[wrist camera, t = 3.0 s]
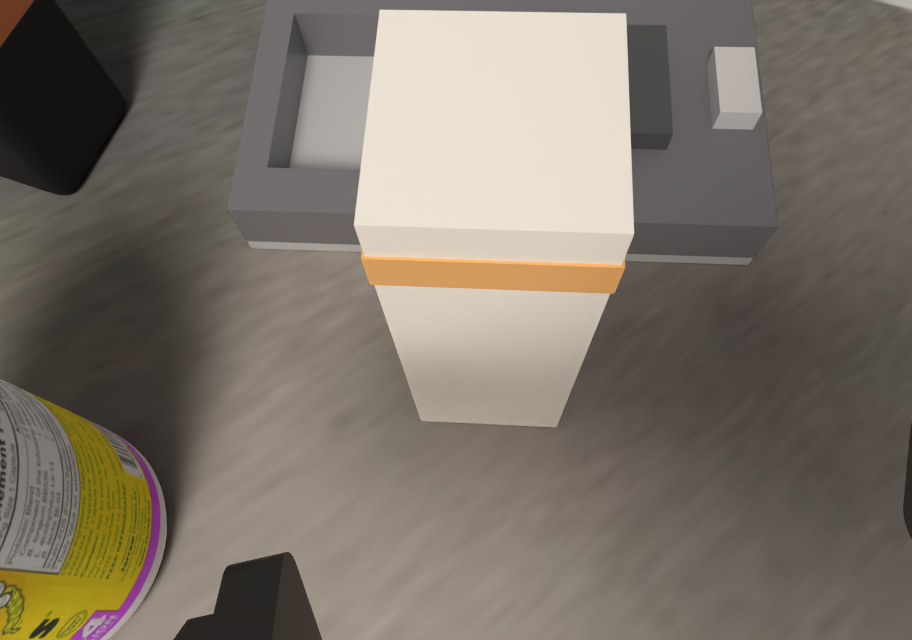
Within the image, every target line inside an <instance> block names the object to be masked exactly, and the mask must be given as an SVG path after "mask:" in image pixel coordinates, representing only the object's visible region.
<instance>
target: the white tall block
mask: <svg viewBox="0 0 912 640" xmlns="http://www.w3.org/2000/svg"><path fill="white" fill-rule="evenodd" d="M354 227H355V230H356V233H357V236H358V239H359V242H360V245H361V248H362V253H361V261H362V263H363V266H364V269H365V272H366V275H367V277H368V280H369V283H370V285H374V286H375V288H376V291H377V294H378V297H379V300H380V303H381V306H382V309H383V312H384V315H385V317H386V320H387V323H388V326H389V329H390V332H391V335H392V338H393V341H394V344H395V347H396V349H397V352H398V355H399V358H400V361H401V364H402V367H403V370H404V373H405V376H406V379H407V381H408V384H409V387H410V390H411V393H412V396H413V399H414V402H415V405H416V408H417V410H418V413H419V416H420V419H421V421H431V422H453V423H474V424H496V425H517V426H539V427H557V425H558V422H559V420H560V417H561V415H562V412H563V410H564V407H565V405H566V402H567V400H568V398H569V395H570V393H571V390H572V388H573V385H574V383H575V380H576V378H577V375H578V373H579V370H580V368H581V365H582V363H583V360H584V358H585V355H586V353H587V350H588V348H589V345H590V343H591V340H592V338H593V335H594V333H595V330H596V328H597V325H598V323H599V320H600V318H601V315H602V313H603V311H604V308H605V306H606V303H607V301H608V298H609V296H610V294H615V291H616V289H617V287H618V284H619V282H620V279H621V277H622V274H623V272H624V270H625V256H626V253H627V251H628V248H629V246H630V243H631V241H632V238H633V236H634V214H633V187H632V159H631V132H630V105H629V77H628V50H627V23H626V13H563V12H499V11H436V10H380V11H379V20H378V28H377V36H376V44H375V53H374V61H373V69H372V78H371V86H370V94H369V103H368V111H367V119H366V127H365V136H364V144H363V152H362V161H361V169H360V177H359V186H358V194H357V202H356V210H355V219H354Z"/></svg>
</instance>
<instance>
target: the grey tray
mask: <svg viewBox="0 0 912 640" xmlns="http://www.w3.org/2000/svg"><path fill="white" fill-rule="evenodd" d="M380 10H436V11H499V12H563V13H626V23H627V50H628V77H629V105H630V132H631V159H632V187H633V214H634V236H633V238H632V241H631V243H630V246H629V248H628V251H627V253H626V256H625V261H644V262H673V263H703V264H732V265H749V263H750V262H751V261H752V259H753V258H754V257H755V256H756V254H757V253H758V252H759V250H760V249H761V248H762V247H763V245H764V244H765V243H766V241H767V240H768V239H769V238H770V236H771V235H772V234H773V232H774V231H775V230H776V228H777V227H778V225H777V217H776V208H775V200H774V191H773V183H772V174H771V166H770V157H769V148H768V140H767V131H766V123H765V114H764V106H763V97H762V89H761V80H760V71H759V63H758V54H757V46H756V37H755V29H754V20H753V12H752V3H751V0H267V2H266V8H265V13H264V18H263V23H262V28H261V33H260V39H259V44H258V49H257V54H256V59H255V64H254V70H253V75H252V80H251V85H250V90H249V96H248V101H247V106H246V111H245V116H244V121H243V127H242V132H241V137H240V142H239V147H238V152H237V158H236V163H235V168H234V173H233V178H232V184H231V189H230V194H229V199H228V204H227V209H226V210H227V211H228V213H229V215H230V216H231V218H232V219H233V221H234V222H235V224H236V225H237V227H238V228H239V230H240V231H241V233H242V234H243V236H244V237H245V239H246V241H247V242H248V244H249V245H250V247H251V248H261V249H291V250H320V251H350V252H362V248H361V245H360V242H359V239H358V236H357V233H356V230H355V227H354V219H355V210H356V202H357V194H358V186H359V177H360V169H361V161H362V152H363V144H364V136H365V127H366V119H367V111H368V103H369V94H370V86H371V78H372V69H373V61H374V53H375V44H376V36H377V28H378V20H379V11H380Z"/></svg>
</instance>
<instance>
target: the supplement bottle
mask: <svg viewBox="0 0 912 640" xmlns="http://www.w3.org/2000/svg"><path fill="white" fill-rule="evenodd" d="M166 537H167V520H166V508H165V501H164V497H163V493H162V489H161V486H160V484H159V481H158V479H157V477H156V475H155V473H154V471H153V469H152V467H151V466H150V464H149V463H148V461H147V460H146V459H145V457H144V456H143V455H142V454H141V453H140V452H139V451H138V450H137V449H136V448H135V447H134V446H133V445H131V444H130V443H129V442H128V441H126V440H125V439H123V438H122V437H120V436H118V435H117V434H115V433H113V432H111V431H110V430H108V429H106V428H104V427H102V426H100V425H98V424H96V423H94V422H92V421H89V420H87V419H85V418H83V417H81V416H79V415H77V414H75V413H72V412H70V411H68V410H66V409H64V408H62V407H60V406H58V405H55V404H53V403H51V402H49V401H47V400H45V399H42V398H40V397H38V396H36V395H34V394H32V393H30V392H28V391H25V390H23V389H21V388H19V387H17V386H15V385H12V384H10V383H8V382H6V381H4V380H1V379H0V640H107V639H109V638H110V637H111V636H112V635H113V634H114V633H116V632H117V631H118V630H119V629H120V628H121V627H122V626H123V625H124V624H125V623H126V622H127V621H128V619H129V618H130V617H131V616H132V615H133V613H134V612H135V611H136V610H137V608H138V607H139V605H140V604H141V603H142V601H143V600H144V598H145V596H146V595H147V593H148V591H149V589H150V588H151V586H152V584H153V582H154V580H155V577H156V575H157V572H158V570H159V567H160V564H161V561H162V557H163V553H164V549H165V543H166Z"/></svg>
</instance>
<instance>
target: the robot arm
mask: <svg viewBox="0 0 912 640" xmlns="http://www.w3.org/2000/svg"><path fill="white" fill-rule="evenodd" d="M903 512H904V519H905V523H906V526H907V529H908V532H909V534H910V537H911V538H912V424H911V430H910V440H909V451H908V462H907V473H906V484H905V495H904V506H903ZM174 640H322V638H321V635H320V632H319V629H318V626H317V623H316V620H315V618H314V615H313V612H312V609H311V606H310V603H309V600H308V597H307V594H306V591H305V588H304V585H303V582H302V579H301V576H300V573H299V570H298V568H297V565H296V562H295V560H294V558H293V556H292V555H291V554H290V553H289V552H285V553H281V554H276V555H272V556H267V557H263V558H258V559H254V560H250V561H245V562H241V563H236V564H232V565H229V566H227V567H226V569H225V571H224V573H223V577H222V581H221V585H220V589H219V593H218V598H217V602H216V606H215V610H214V614H210V615H206V616H202V617H197V618H193V619H188V620H187V621H186V623H185V624H184V626H183V627H182V628H181V630H180V631H179V633H178V634H177V635H176V637H175V638H174Z"/></svg>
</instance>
